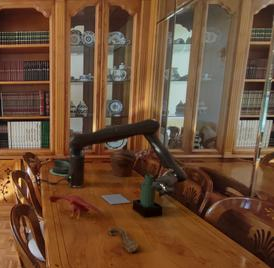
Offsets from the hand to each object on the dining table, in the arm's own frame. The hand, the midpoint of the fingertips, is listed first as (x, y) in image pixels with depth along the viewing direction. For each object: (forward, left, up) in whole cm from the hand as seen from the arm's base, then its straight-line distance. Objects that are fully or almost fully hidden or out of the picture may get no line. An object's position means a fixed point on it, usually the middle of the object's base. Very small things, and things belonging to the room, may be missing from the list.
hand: (150, 191), depth 112 cm
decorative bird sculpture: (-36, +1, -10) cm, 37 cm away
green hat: (-22, +67, -10) cm, 71 cm away
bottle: (-2, -1, -10) cm, 10 cm away
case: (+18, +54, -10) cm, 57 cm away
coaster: (-9, +15, -10) cm, 20 cm away
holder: (-2, -1, -10) cm, 10 cm away
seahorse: (-26, -20, -10) cm, 34 cm away
